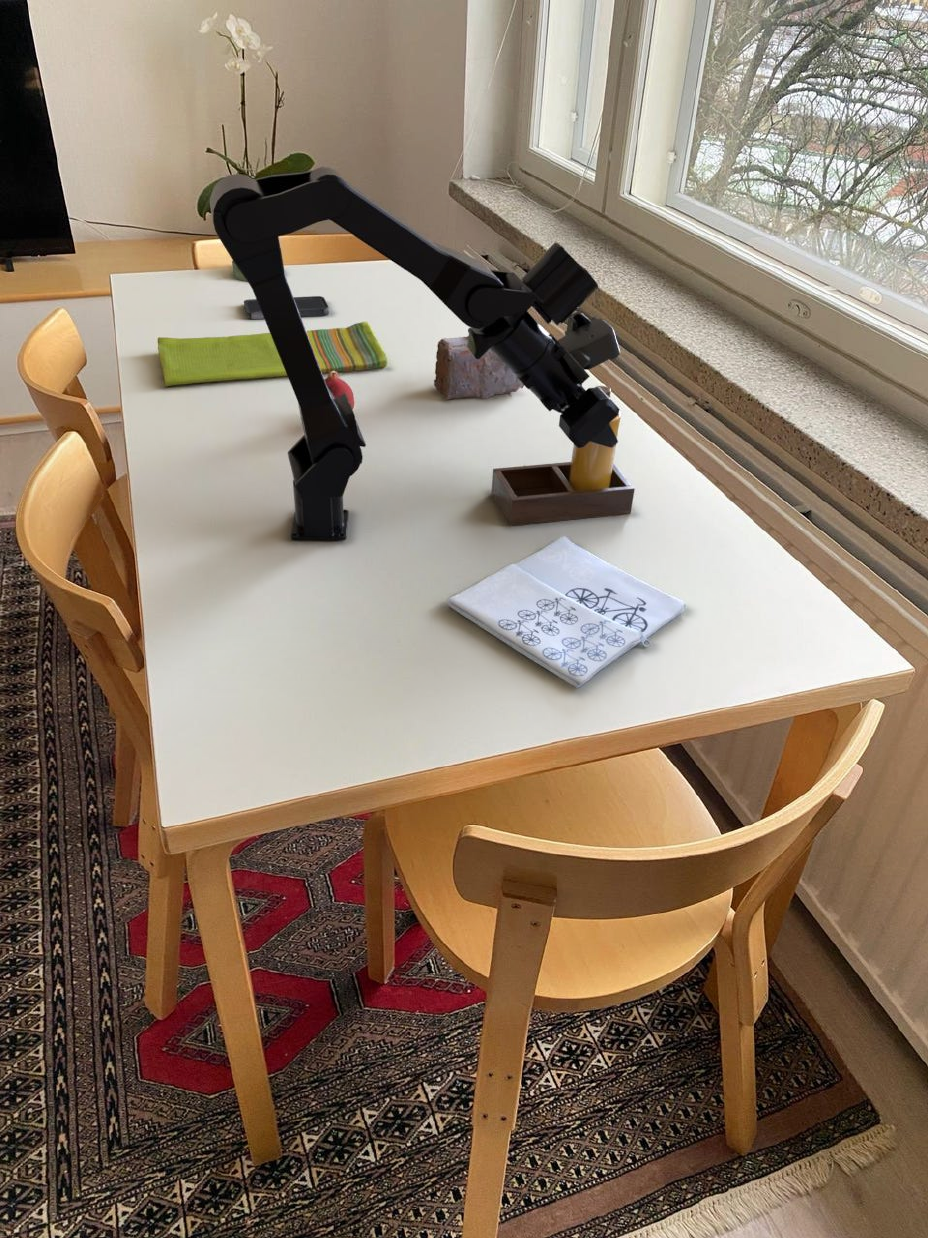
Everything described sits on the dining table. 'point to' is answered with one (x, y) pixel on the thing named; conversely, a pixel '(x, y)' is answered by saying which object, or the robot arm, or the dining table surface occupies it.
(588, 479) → the bottle
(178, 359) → the dish towel
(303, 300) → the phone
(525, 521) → the brown divided tray
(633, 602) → the folded bicycle print cloth
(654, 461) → the dining table surface
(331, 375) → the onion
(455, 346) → the red crystal topped stone
